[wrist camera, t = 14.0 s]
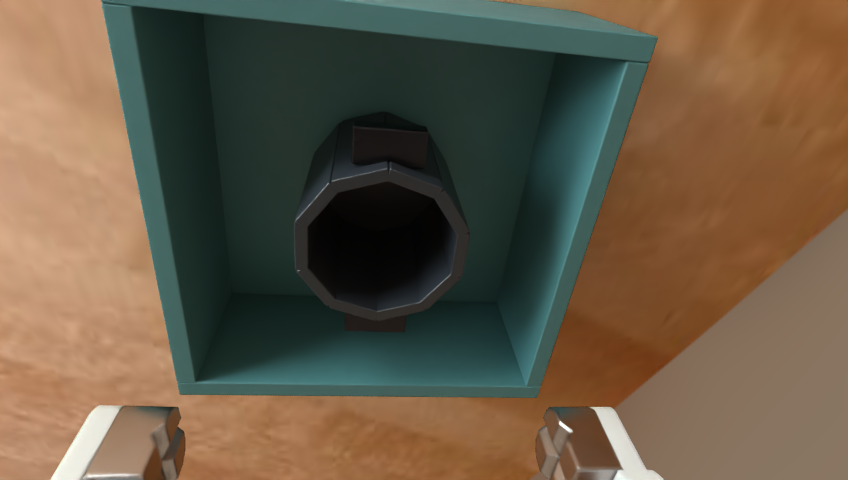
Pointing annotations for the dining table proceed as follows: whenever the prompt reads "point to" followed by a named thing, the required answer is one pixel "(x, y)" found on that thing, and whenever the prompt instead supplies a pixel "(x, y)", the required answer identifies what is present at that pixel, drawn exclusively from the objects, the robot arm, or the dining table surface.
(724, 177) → the dining table surface
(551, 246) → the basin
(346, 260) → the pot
